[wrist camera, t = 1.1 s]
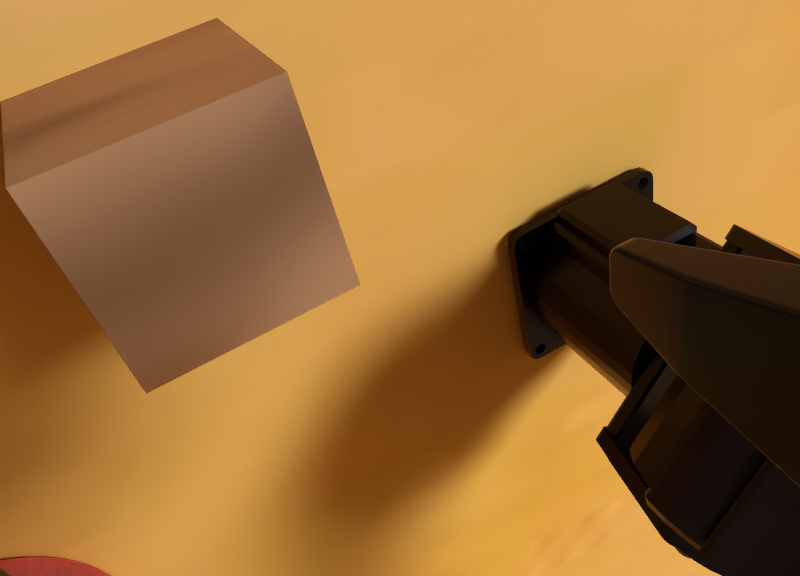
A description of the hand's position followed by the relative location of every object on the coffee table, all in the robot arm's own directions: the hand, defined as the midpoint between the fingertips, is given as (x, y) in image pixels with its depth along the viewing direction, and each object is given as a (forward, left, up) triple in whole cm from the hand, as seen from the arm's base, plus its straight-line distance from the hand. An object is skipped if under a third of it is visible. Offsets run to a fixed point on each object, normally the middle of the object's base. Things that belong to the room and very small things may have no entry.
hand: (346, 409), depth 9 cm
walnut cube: (-1, +1, -12) cm, 12 cm away
